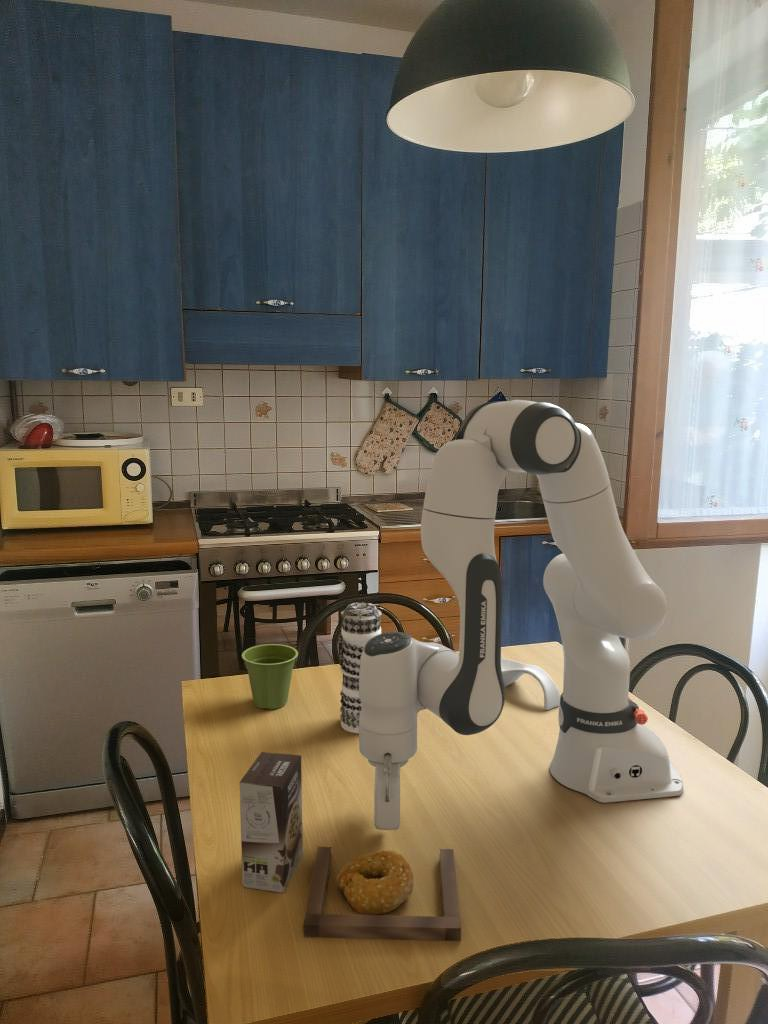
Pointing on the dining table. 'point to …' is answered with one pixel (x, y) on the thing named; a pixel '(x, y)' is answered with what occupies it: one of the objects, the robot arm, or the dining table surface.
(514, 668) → the spoon rest
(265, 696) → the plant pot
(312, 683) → the dining table surface
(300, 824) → the coffee box
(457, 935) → the brown u-shaped frame
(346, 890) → the bagel
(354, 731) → the decorative candle
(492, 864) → the dining table surface
